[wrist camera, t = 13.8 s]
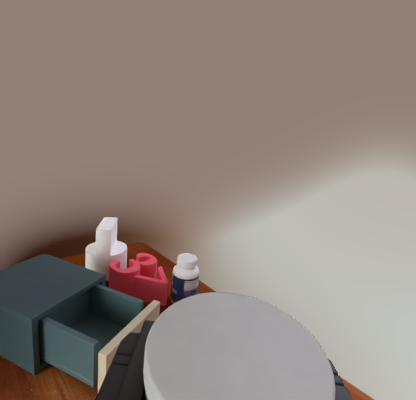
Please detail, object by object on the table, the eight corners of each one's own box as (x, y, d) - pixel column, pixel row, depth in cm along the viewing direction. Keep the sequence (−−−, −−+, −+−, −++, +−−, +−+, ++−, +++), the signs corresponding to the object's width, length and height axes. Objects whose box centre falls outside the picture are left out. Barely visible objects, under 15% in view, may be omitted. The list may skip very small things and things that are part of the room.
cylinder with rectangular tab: (123, 281, 57) (125, 230, 54) (80, 281, 55) (80, 229, 52) (128, 262, 65) (130, 218, 63) (91, 261, 64) (91, 216, 61)
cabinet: (104, 318, 45) (105, 274, 43) (34, 375, 33) (31, 319, 31) (46, 293, 50) (44, 253, 48) (-34, 336, 38) (-40, 285, 36)
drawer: (180, 349, 39) (184, 310, 37) (134, 420, 28) (137, 371, 27) (92, 311, 45) (92, 277, 43) (26, 360, 34) (24, 316, 33)
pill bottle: (166, 295, 53) (169, 253, 51) (189, 290, 56) (193, 249, 54) (176, 311, 49) (180, 265, 47) (200, 305, 51) (205, 261, 49)
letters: (183, 296, 54) (185, 275, 53) (142, 317, 46) (144, 293, 45) (144, 269, 63) (145, 251, 61) (104, 284, 55) (105, 263, 54)
